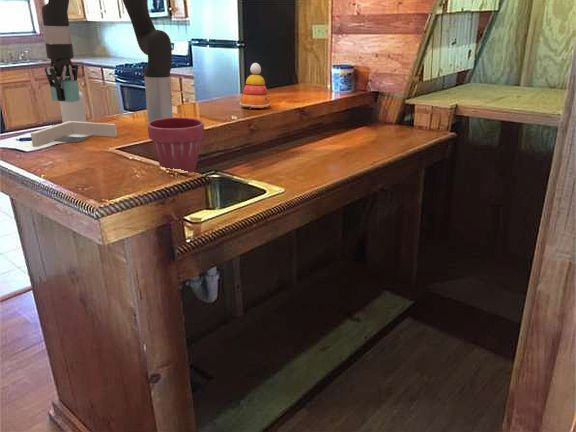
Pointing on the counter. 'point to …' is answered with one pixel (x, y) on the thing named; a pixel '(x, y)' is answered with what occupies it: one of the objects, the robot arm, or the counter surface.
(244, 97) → the stacking toy
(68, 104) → the pill bottle
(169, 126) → the plant pot
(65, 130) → the beige l-shaped wall
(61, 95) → the robot arm
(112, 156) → the counter surface
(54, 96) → the teal block
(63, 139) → the pad
